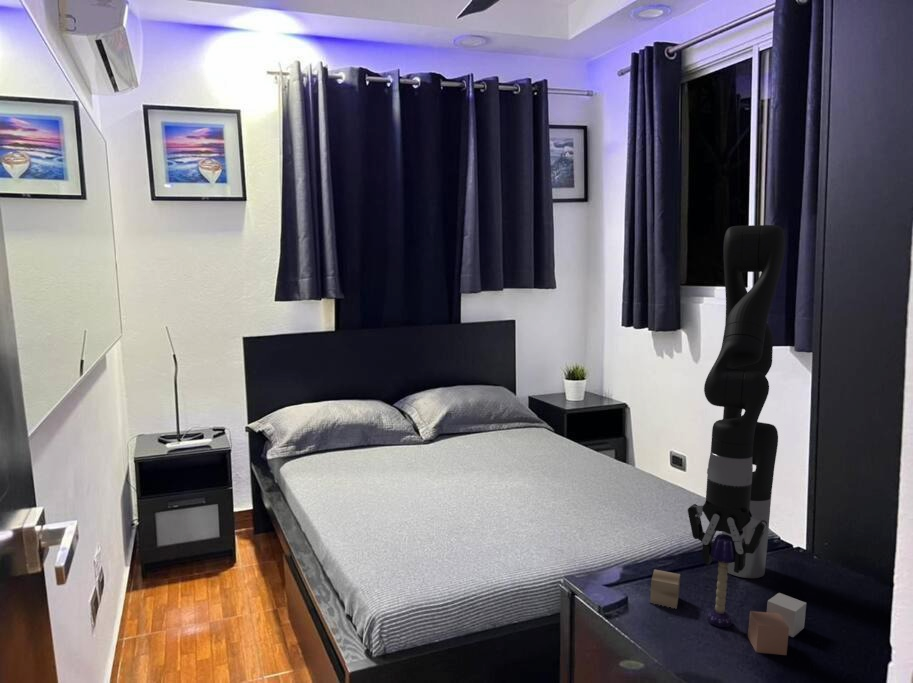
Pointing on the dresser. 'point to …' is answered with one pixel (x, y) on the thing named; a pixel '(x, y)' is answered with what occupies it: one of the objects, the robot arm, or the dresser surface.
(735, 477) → the robot arm
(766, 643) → the terracotta block
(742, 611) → the dresser surface
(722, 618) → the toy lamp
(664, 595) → the oak block
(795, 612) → the off-white block
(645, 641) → the dresser surface
